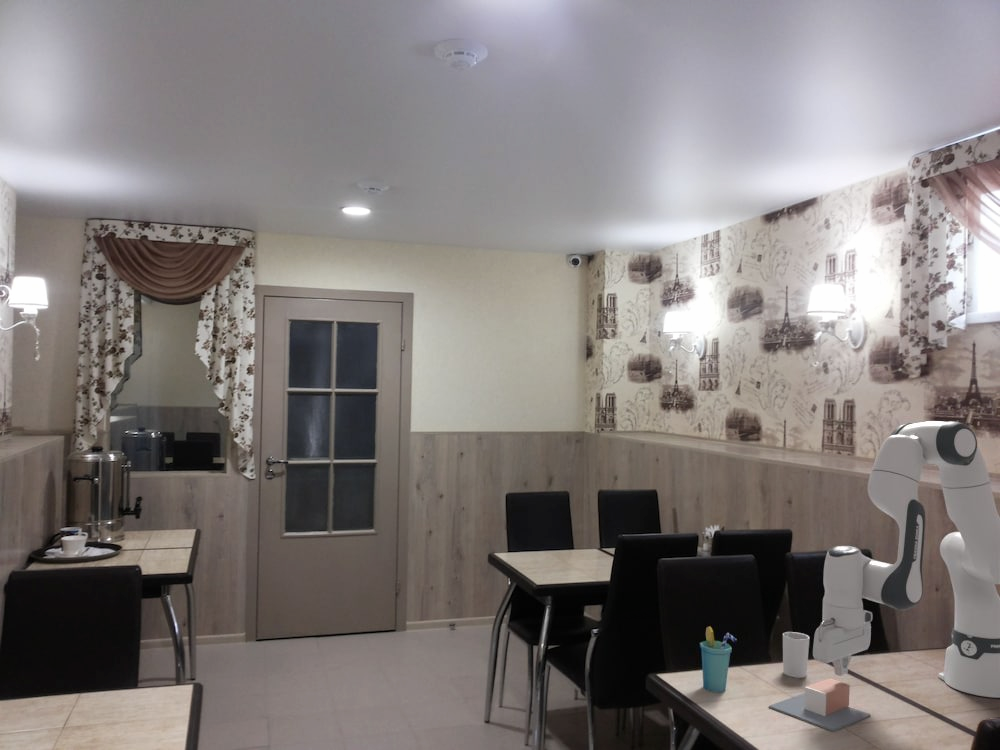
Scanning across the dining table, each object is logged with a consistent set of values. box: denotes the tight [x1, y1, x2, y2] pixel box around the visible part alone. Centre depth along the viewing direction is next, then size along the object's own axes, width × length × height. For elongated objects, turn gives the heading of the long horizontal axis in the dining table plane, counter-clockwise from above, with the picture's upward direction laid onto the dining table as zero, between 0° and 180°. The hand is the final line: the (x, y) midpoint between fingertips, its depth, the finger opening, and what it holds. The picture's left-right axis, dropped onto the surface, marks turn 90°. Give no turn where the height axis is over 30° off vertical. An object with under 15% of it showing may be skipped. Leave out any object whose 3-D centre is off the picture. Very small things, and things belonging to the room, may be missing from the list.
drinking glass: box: [782, 631, 810, 679], centre depth 215 cm, size 7×7×10 cm
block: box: [804, 677, 851, 716], centre depth 191 cm, size 5×5×11 cm
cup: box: [699, 626, 738, 693], centre depth 201 cm, size 14×8×15 cm, turn 20°
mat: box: [768, 692, 871, 733], centre depth 189 cm, size 16×16×1 cm
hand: (841, 674), depth 194 cm, fingers closed
